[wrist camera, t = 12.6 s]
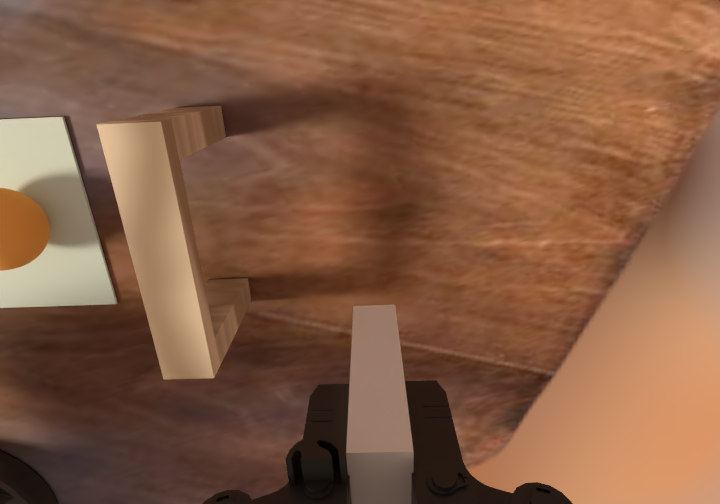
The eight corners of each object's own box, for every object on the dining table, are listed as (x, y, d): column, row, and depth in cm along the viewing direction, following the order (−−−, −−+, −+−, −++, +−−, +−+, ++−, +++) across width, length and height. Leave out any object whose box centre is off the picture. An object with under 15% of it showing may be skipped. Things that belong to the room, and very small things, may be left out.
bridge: (221, 105, 29) (160, 121, 20) (251, 301, 34) (214, 378, 26) (175, 107, 29) (96, 124, 20) (213, 302, 34) (163, 379, 26)
